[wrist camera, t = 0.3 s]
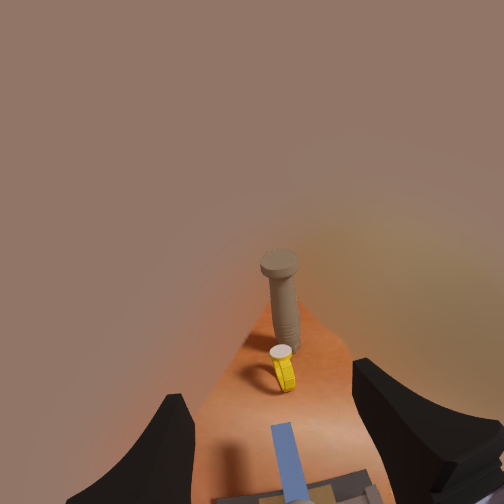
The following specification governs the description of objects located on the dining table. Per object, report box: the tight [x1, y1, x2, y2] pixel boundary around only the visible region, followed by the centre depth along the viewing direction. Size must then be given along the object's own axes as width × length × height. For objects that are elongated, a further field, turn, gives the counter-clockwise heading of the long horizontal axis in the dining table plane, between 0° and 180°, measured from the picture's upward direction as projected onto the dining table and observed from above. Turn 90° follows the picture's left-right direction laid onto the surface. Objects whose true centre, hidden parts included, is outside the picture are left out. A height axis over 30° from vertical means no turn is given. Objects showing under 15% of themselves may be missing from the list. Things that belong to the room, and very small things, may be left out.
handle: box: [260, 249, 300, 354], centre depth 43 cm, size 5×6×15 cm
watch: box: [269, 344, 296, 392], centre depth 39 cm, size 6×3×6 cm, turn 13°
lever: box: [271, 422, 315, 504], centre depth 20 cm, size 11×3×2 cm, turn 6°
